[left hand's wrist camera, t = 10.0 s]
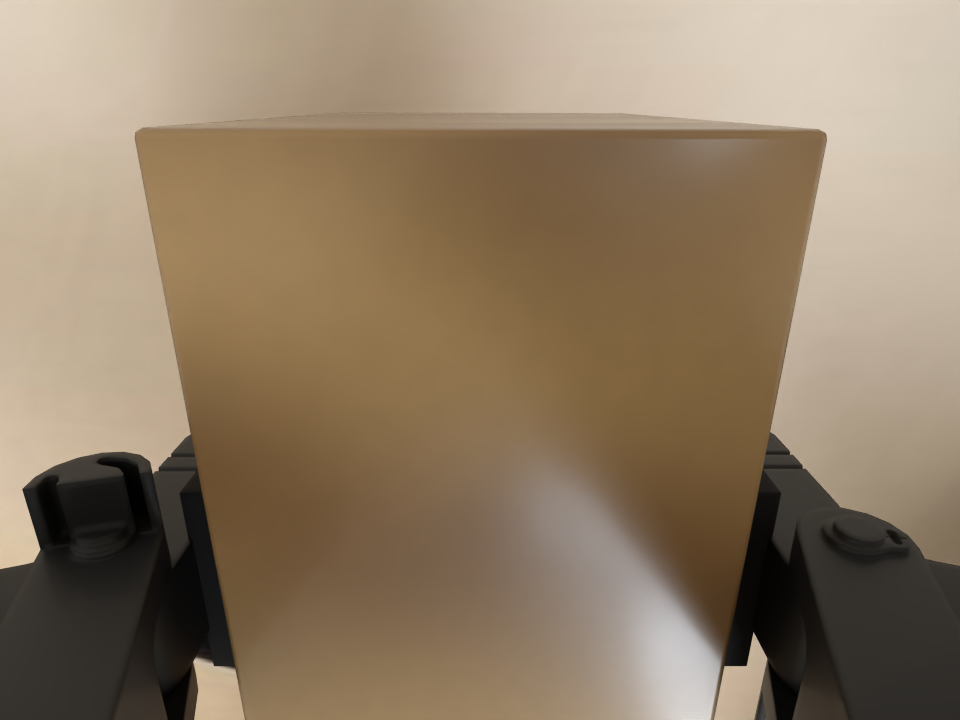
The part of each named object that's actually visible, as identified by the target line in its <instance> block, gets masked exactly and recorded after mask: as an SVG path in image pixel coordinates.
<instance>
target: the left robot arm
mask: <svg viewBox="0 0 960 720" xmlns="http://www.w3.org/2000/svg"><path fill="white" fill-rule="evenodd" d="M22 490H23V493H24V496H25V500H26V503H27V506H28V510H29V513H30V516H31V519H32V523H33V526H34V529H35V532H36V536H37V539H38V542H39V546H40V549H41V550H40V552H39V554H38V556H37V557H36V559H35V561H34V562H33V563H29V564H25V565H20V566H15V567H9V568H4V569H0V720H194V716H195V709H196V702H197V694H198V685H197V678H196V673H195V668H194V663H193V661H194V659H195V657H196V655H197V653H198V651H199V649H200V648H201V646H202V644H203V642H204V640H205V638H206V636H207V634H208V638H209V643H210V648H211V653H212V658H213V663H214V666H235V664H234V658H233V653H232V648H231V642H230V637H229V632H228V627H227V621H226V616H225V611H224V606H223V600H222V595H221V590H220V584H219V579H218V574H217V569H216V563H215V558H214V553H213V548H212V542H211V537H210V532H209V527H208V521H207V516H206V511H205V505H204V500H203V495H202V490H201V484H200V479H199V474H198V469H197V463H196V458H195V453H194V447H193V442H192V437H191V435H189V436H188V437H186V438H185V439H184V440H183V441H182V443H181V444H180V445H179V446H178V447H177V448H176V449H175V450H174V451H173V453H172V454H171V457H168V458H167V459H166V460H165V461H164V463H163V464H162V465H161V466H160V467H159V471H155V473H154V474H153V473H152V469H151V464H150V461H148V460H147V459H145V458H144V457H143V456H141V455H138V454H132V453H127V452H110V453H99V454H94V455H89V456H84V457H79V458H76V459H73V460H70V461H68V462H65V463H62V464H59V465H56V466H54V467H52V468H50V469H49V470H47V471H45V472H43V473H41V474H40V475H38V476H36V477H35V478H34V479H33V480H31V481H30V482H29V483H28V484H27V485H26V486H25V487H24V488H23V489H22ZM753 632H754V633H755V635H756V637H757V639H758V641H759V643H760V645H761V647H762V649H763V651H764V653H765V654H766V656H767V658H768V659H767V663H766V668H765V673H764V677H763V682H762V687H761V691H760V696H759V700H758V705H757V710H756V714H755V719H754V720H960V566H956V565H951V564H946V563H941V562H936V561H931V560H928V559H925V558H924V556H923V554H922V553H921V551H920V549H919V548H918V547H917V545H916V544H915V543H914V542H913V541H912V540H911V538H910V537H909V536H908V535H907V534H905V533H904V532H902V531H901V530H899V529H898V528H896V527H895V526H893V525H892V524H890V523H888V522H886V521H883V520H881V519H879V518H876V517H874V516H871V515H869V514H866V513H862V512H858V511H854V510H850V509H845V508H841V507H840V506H839V505H838V504H837V503H836V502H835V501H834V500H833V499H832V497H831V496H830V495H829V494H828V493H827V492H826V491H825V490H824V489H823V488H822V486H821V485H820V484H819V483H818V482H817V481H816V480H815V479H814V478H813V477H812V475H811V474H810V473H809V472H808V471H807V470H806V469H803V468H802V464H801V463H800V462H799V461H798V460H797V459H796V458H795V457H794V456H793V455H790V451H789V450H788V449H787V448H786V447H785V446H784V445H783V443H782V442H781V441H780V440H779V439H778V438H777V437H776V436H775V435H774V434H772V433H770V434H769V439H768V444H767V450H766V455H765V460H764V465H763V470H762V475H761V480H760V485H759V491H758V496H757V501H756V506H755V511H754V516H753V521H752V526H751V532H750V537H749V542H748V547H747V552H746V557H745V562H744V567H743V573H742V578H741V583H740V588H739V593H738V598H737V603H736V608H735V614H734V619H733V624H732V629H731V634H730V639H729V644H728V649H727V655H726V660H725V665H724V666H747V661H748V656H749V651H750V646H751V641H752V636H753Z"/></svg>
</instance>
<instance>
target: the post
mask: <svg viewBox="0 0 960 720" xmlns="http://www.w3.org/2000/svg"><path fill="white" fill-rule="evenodd" d="M135 142H136V147H137V152H138V158H139V163H140V168H141V173H142V179H143V184H144V189H145V194H146V200H147V205H148V210H149V216H150V221H151V226H152V231H153V237H154V242H155V247H156V252H157V258H158V263H159V268H160V274H161V279H162V284H163V289H164V295H165V300H166V305H167V310H168V316H169V321H170V326H171V332H172V337H173V342H174V347H175V353H176V358H177V363H178V368H179V374H180V379H181V384H182V389H183V395H184V400H185V405H186V411H187V416H188V421H189V426H190V432H191V437H192V442H193V447H194V453H195V458H196V463H197V469H198V474H199V479H200V484H201V490H202V495H203V500H204V505H205V511H206V516H207V521H208V527H209V532H210V537H211V542H212V548H213V553H214V558H215V563H216V569H217V574H218V579H219V584H220V590H221V595H222V600H223V606H224V611H225V616H226V621H227V627H228V632H229V637H230V642H231V648H232V653H233V658H234V664H235V669H236V674H237V679H238V685H239V690H240V695H241V700H242V706H243V711H244V716H245V720H714V716H715V711H716V706H717V701H718V696H719V691H720V685H721V680H722V675H723V670H724V665H725V660H726V655H727V649H728V644H729V639H730V634H731V629H732V624H733V619H734V614H735V608H736V603H737V598H738V593H739V588H740V583H741V578H742V573H743V567H744V562H745V557H746V552H747V547H748V542H749V537H750V532H751V526H752V521H753V516H754V511H755V506H756V501H757V496H758V491H759V485H760V480H761V475H762V470H763V465H764V460H765V455H766V450H767V444H768V439H769V434H770V429H771V424H772V419H773V414H774V409H775V403H776V398H777V393H778V388H779V383H780V378H781V373H782V368H783V362H784V357H785V352H786V347H787V342H788V337H789V332H790V327H791V321H792V316H793V311H794V306H795V301H796V296H797V291H798V286H799V280H800V275H801V270H802V265H803V260H804V255H805V250H806V245H807V239H808V234H809V229H810V224H811V219H812V214H813V209H814V204H815V198H816V193H817V188H818V183H819V178H820V173H821V168H822V162H823V157H824V152H825V147H826V142H827V137H826V133H825V132H823V131H821V130H819V129H807V128H795V127H782V126H770V125H758V124H745V123H733V122H720V121H708V120H695V119H683V118H671V117H658V116H646V115H633V114H616V113H335V114H321V115H308V116H294V117H281V118H267V119H254V120H240V121H227V122H213V123H200V124H186V125H173V126H159V127H146V128H141V129H139V130H137V131H136V133H135Z"/></svg>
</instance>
